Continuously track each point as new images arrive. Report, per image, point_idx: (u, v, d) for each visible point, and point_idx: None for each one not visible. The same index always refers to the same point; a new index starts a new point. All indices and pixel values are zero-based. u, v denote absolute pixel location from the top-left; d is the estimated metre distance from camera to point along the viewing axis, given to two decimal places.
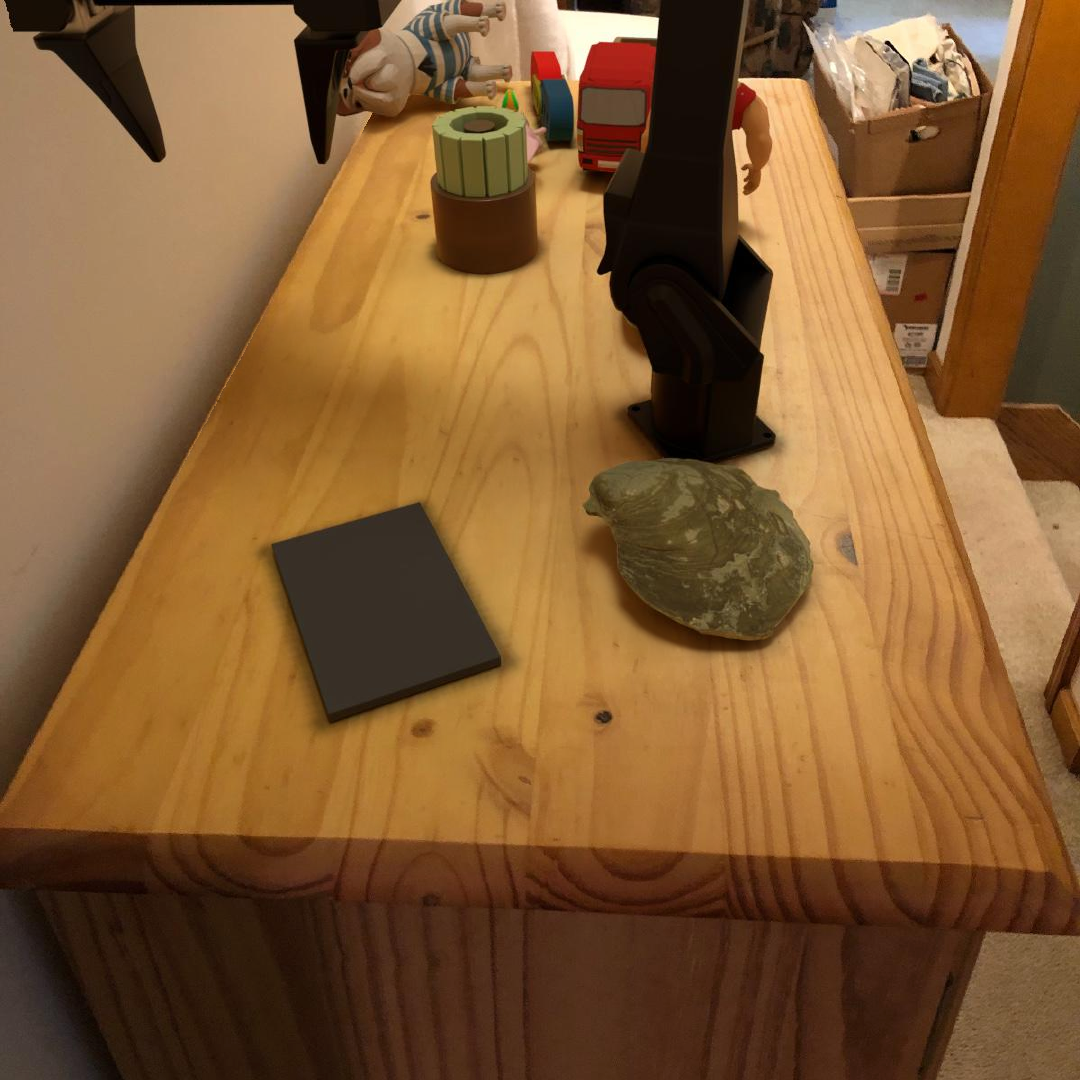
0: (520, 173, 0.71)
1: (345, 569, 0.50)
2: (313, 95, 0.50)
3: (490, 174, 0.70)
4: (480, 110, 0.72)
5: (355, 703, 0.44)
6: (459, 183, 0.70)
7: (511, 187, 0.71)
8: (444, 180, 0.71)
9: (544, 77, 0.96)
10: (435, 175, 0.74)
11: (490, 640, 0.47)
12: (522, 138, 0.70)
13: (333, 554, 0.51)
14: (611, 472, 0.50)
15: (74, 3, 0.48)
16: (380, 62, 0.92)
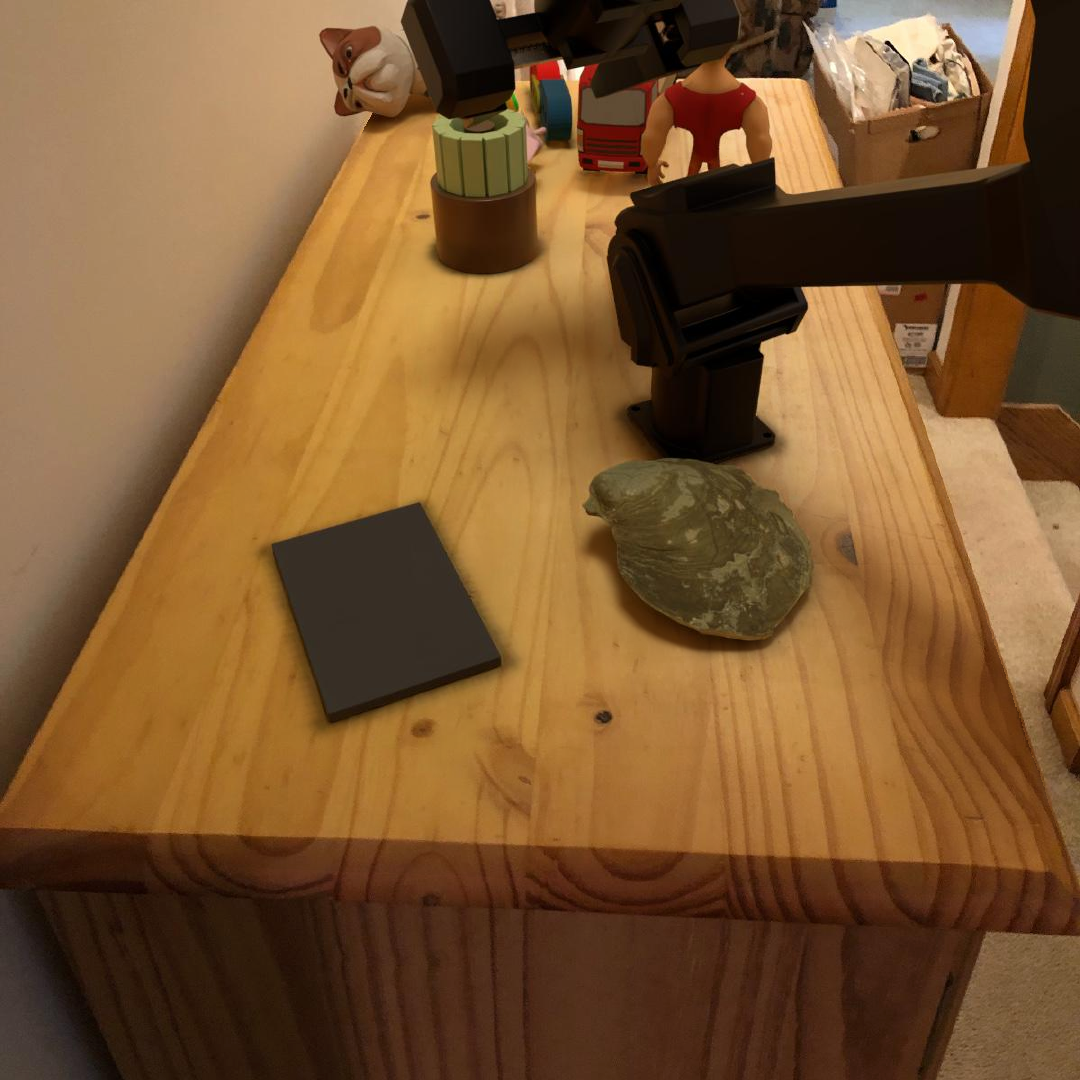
0: (520, 173, 0.71)
1: (345, 569, 0.50)
2: (642, 83, 0.61)
3: (490, 174, 0.70)
4: None
5: (355, 703, 0.44)
6: (459, 183, 0.70)
7: (511, 187, 0.71)
8: (444, 180, 0.71)
9: (543, 77, 0.96)
10: (435, 175, 0.74)
11: (490, 640, 0.47)
12: (522, 138, 0.70)
13: (333, 554, 0.51)
14: (611, 472, 0.50)
15: None
16: (380, 62, 0.92)
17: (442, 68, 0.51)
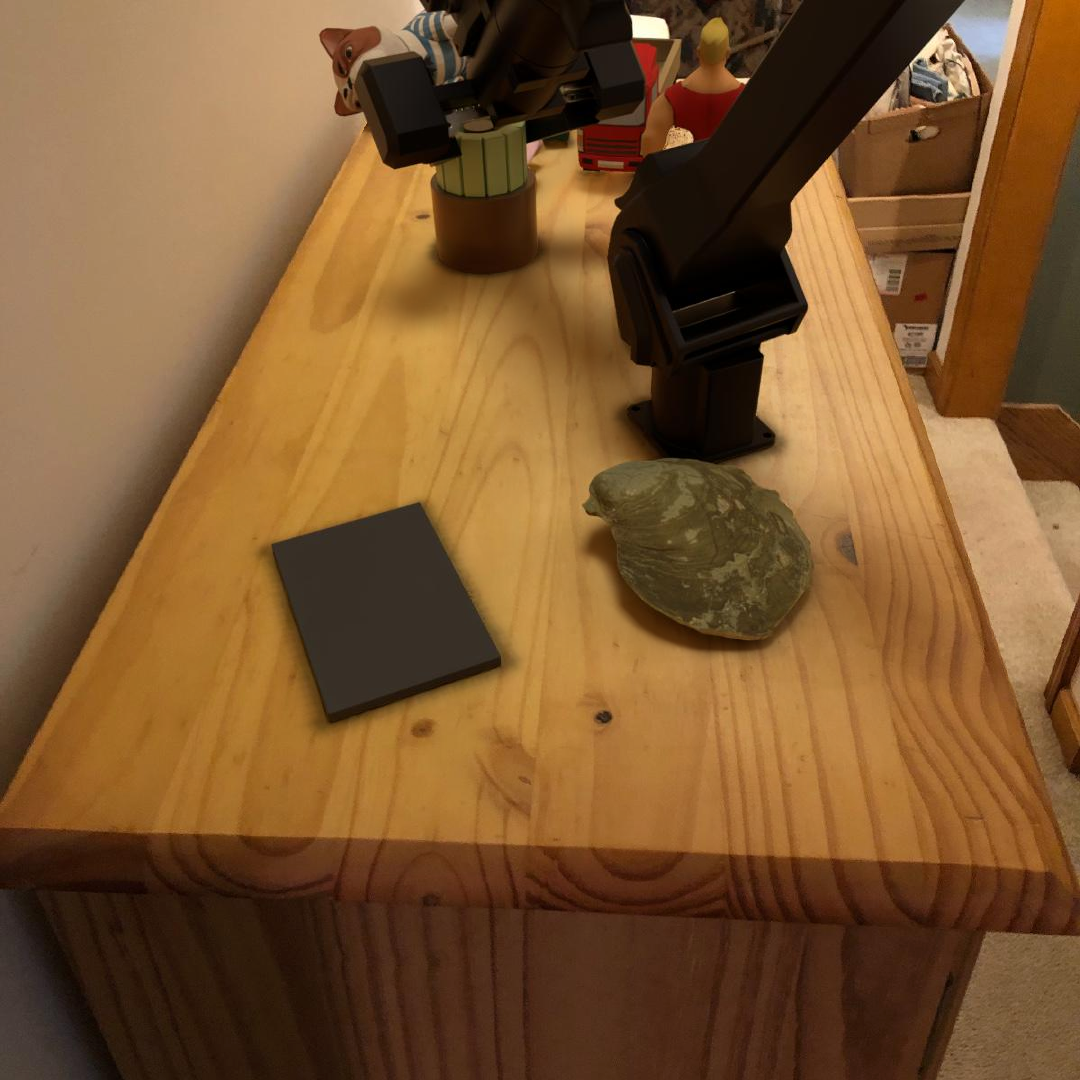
0: (520, 173, 0.71)
1: (345, 569, 0.50)
2: (550, 136, 0.71)
3: (490, 174, 0.70)
4: None
5: (355, 703, 0.44)
6: (459, 183, 0.70)
7: (511, 187, 0.71)
8: (444, 180, 0.71)
9: None
10: (435, 175, 0.74)
11: (490, 640, 0.47)
12: (522, 138, 0.70)
13: (333, 554, 0.51)
14: (611, 472, 0.50)
15: None
16: None
17: (386, 128, 0.61)
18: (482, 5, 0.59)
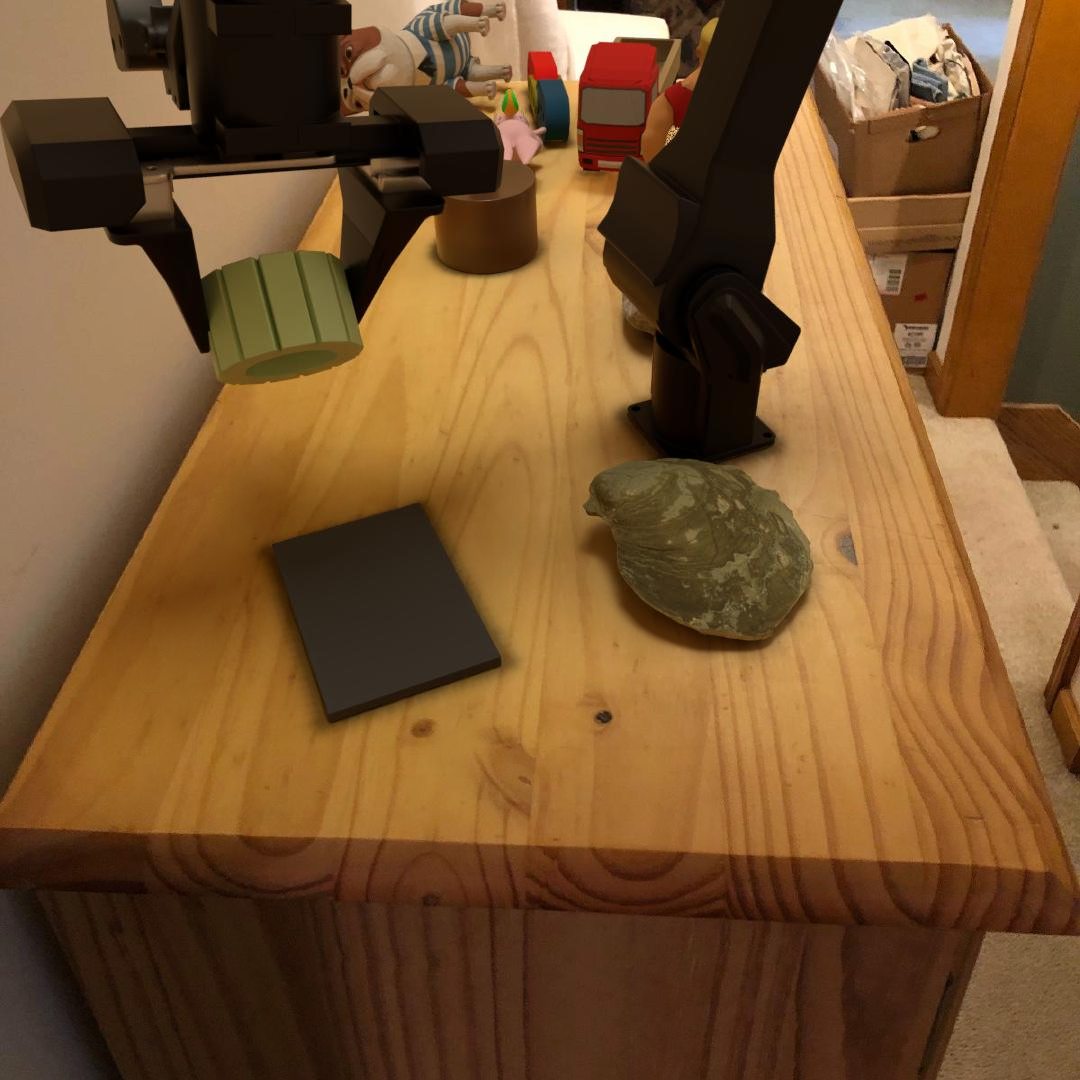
0: (337, 319, 0.43)
1: (345, 569, 0.50)
2: (379, 263, 0.44)
3: (277, 311, 0.42)
4: None
5: (355, 703, 0.44)
6: (232, 341, 0.42)
7: (321, 335, 0.42)
8: (216, 356, 0.43)
9: (540, 77, 0.96)
10: None
11: (490, 640, 0.47)
12: (331, 269, 0.44)
13: (333, 554, 0.51)
14: (611, 472, 0.50)
15: None
16: (380, 62, 0.92)
17: (18, 148, 0.35)
18: None
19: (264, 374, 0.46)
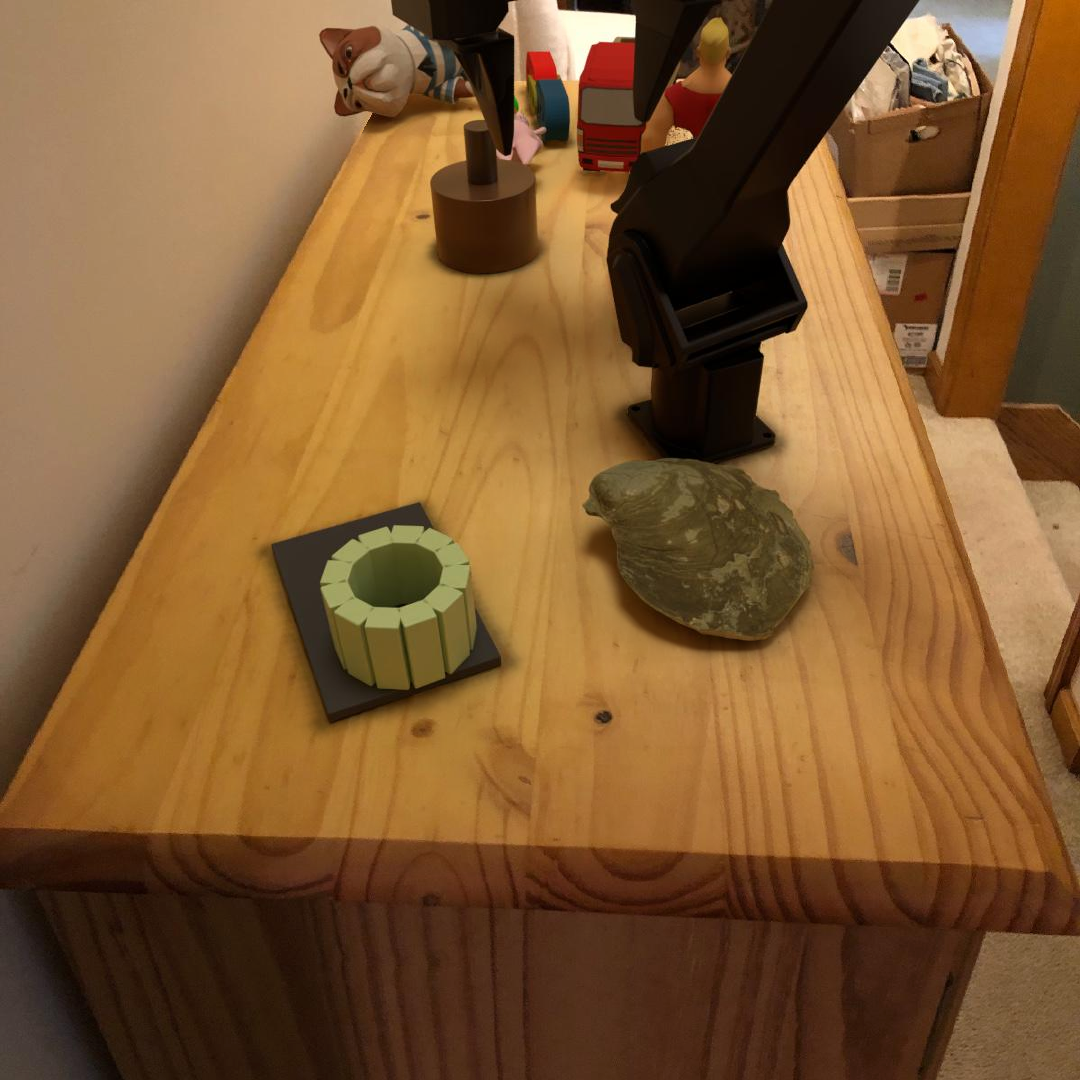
0: (464, 645, 0.45)
1: None
2: (675, 53, 0.57)
3: (415, 664, 0.44)
4: (398, 539, 0.46)
5: (355, 703, 0.44)
6: (366, 673, 0.44)
7: (450, 669, 0.45)
8: (343, 659, 0.45)
9: (540, 77, 0.96)
10: (435, 175, 0.74)
11: (490, 640, 0.47)
12: (465, 601, 0.44)
13: None
14: (611, 472, 0.50)
15: None
16: (380, 62, 0.92)
17: None
18: None
19: None
